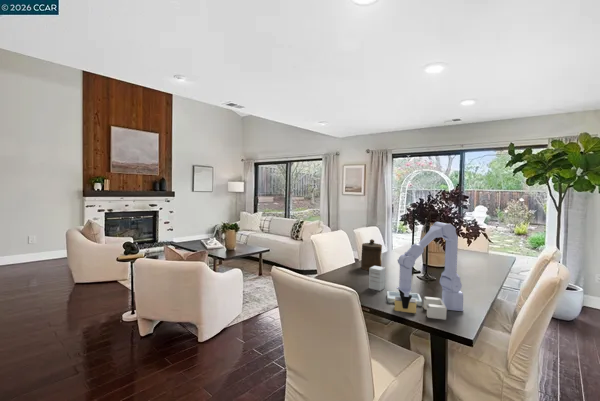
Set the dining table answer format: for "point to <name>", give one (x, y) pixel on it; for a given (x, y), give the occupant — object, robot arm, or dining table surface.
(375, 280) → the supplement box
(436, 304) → the bay
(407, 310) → the yellow rectangular block
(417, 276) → the dining table surface
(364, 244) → the wooden container
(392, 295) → the tray
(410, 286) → the robot arm
